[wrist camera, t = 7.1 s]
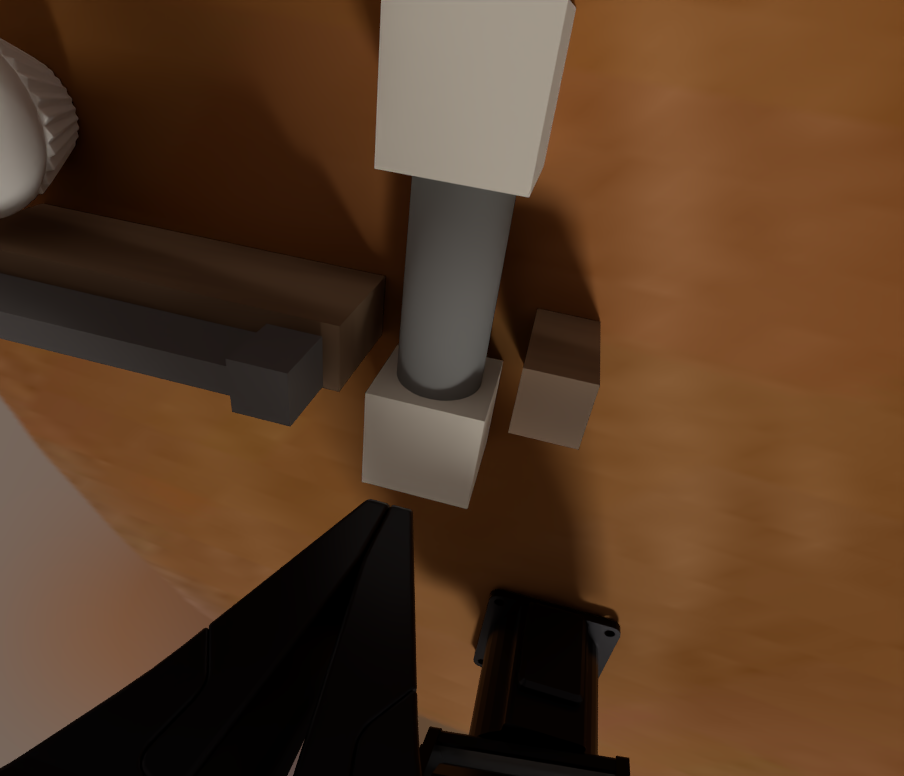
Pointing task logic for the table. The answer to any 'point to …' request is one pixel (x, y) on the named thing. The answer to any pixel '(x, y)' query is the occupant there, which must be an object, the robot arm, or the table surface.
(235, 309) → the dark brown block
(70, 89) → the table surface
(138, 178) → the table surface
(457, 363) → the square-ended dumbbell
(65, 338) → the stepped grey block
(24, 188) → the muffin
